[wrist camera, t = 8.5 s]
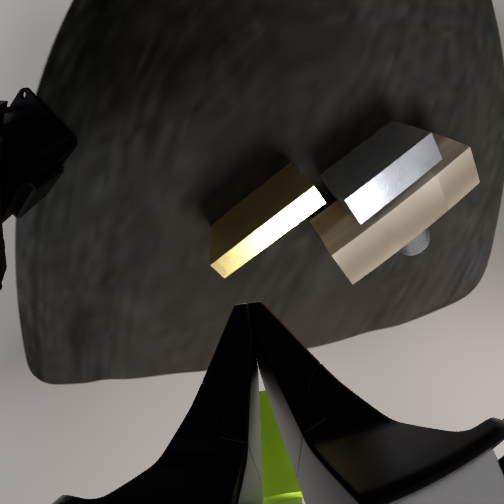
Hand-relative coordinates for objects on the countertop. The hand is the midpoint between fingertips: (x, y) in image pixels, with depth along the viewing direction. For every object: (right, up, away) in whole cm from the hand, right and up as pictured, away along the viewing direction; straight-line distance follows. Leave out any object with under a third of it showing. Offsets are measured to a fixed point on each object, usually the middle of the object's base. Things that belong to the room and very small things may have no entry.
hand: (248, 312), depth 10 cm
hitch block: (+10, +7, +11) cm, 16 cm away
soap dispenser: (+2, -17, +25) cm, 30 cm away
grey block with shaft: (+11, +6, +12) cm, 17 cm away
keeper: (0, +5, +11) cm, 12 cm away
